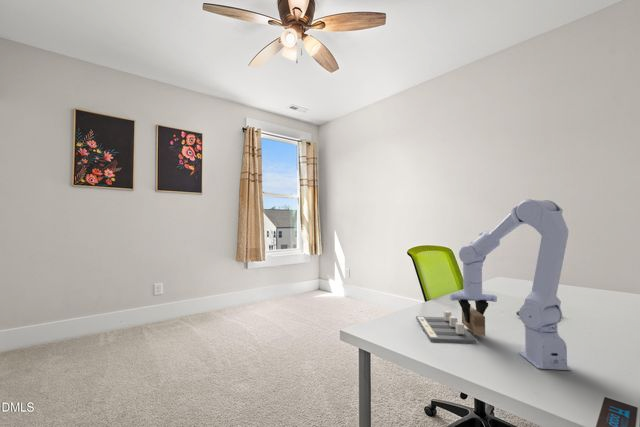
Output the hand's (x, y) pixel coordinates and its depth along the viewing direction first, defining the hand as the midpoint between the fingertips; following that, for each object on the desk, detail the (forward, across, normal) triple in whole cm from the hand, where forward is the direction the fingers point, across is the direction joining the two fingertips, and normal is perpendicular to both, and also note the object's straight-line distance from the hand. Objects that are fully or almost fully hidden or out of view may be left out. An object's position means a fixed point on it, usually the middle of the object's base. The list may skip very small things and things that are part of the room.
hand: (473, 322), depth 101 cm
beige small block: (+3, +5, +3) cm, 7 cm away
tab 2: (+3, +5, -3) cm, 7 cm away
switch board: (+4, +9, -3) cm, 10 cm away
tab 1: (+3, +6, -10) cm, 11 cm away
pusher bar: (+2, 0, 0) cm, 2 cm away
